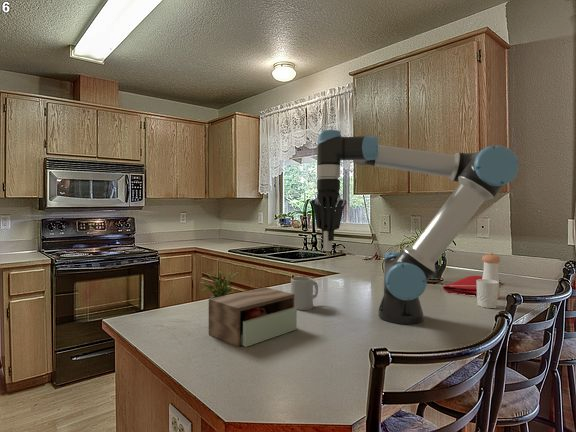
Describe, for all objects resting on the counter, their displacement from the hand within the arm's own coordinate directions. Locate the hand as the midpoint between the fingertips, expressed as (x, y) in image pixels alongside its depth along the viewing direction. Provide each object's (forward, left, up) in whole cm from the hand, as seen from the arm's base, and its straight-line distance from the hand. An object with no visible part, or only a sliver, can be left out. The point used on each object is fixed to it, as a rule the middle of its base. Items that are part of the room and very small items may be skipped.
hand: (327, 250), depth 126 cm
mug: (+19, -11, -25) cm, 33 cm away
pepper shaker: (-27, -79, -25) cm, 87 cm away
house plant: (+33, +18, -25) cm, 45 cm away
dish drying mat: (-15, -95, -25) cm, 99 cm away
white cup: (-31, -62, -25) cm, 74 cm away
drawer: (+10, +22, -24) cm, 34 cm away
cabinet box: (+12, +22, -24) cm, 35 cm away
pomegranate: (+11, +22, -23) cm, 34 cm away
